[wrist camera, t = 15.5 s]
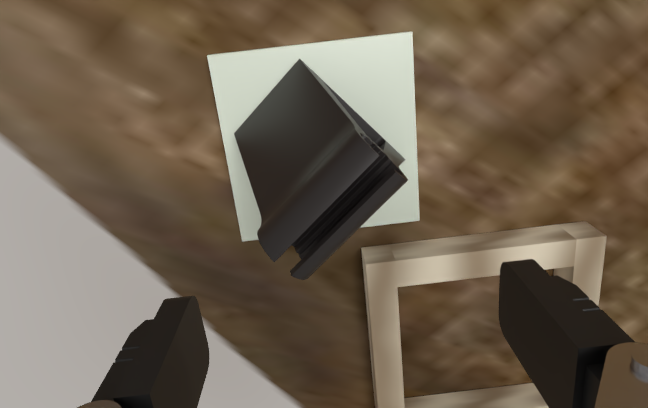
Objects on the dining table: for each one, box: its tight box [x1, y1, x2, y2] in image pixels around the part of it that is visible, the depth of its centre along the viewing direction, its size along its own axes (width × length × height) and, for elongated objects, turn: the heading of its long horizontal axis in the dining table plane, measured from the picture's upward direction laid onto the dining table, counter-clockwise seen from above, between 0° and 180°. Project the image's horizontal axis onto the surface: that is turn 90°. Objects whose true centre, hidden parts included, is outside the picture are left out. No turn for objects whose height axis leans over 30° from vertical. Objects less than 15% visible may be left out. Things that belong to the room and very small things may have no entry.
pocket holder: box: [361, 221, 607, 408], centre depth 35 cm, size 16×16×2 cm
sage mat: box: [207, 32, 420, 242], centre depth 30 cm, size 12×12×1 cm
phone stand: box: [234, 58, 408, 280], centre depth 24 cm, size 9×6×12 cm, turn 47°
